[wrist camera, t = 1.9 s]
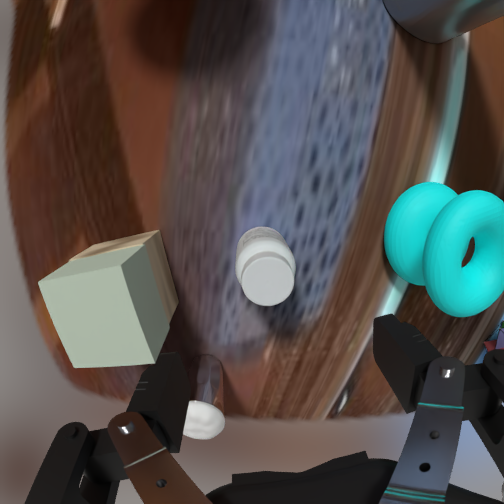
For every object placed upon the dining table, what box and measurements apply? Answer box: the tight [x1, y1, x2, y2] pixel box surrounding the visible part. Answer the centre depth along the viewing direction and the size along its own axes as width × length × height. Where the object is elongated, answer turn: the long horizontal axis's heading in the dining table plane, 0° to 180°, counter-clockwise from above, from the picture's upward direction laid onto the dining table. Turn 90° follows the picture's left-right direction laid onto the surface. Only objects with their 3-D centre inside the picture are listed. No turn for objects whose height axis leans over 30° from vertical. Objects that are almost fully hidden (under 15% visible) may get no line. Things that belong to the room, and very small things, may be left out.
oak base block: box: [69, 230, 179, 323], centre depth 25 cm, size 7×7×5 cm
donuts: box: [384, 182, 504, 317], centre depth 22 cm, size 10×10×10 cm
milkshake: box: [183, 355, 225, 439], centre depth 26 cm, size 4×5×10 cm
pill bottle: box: [235, 227, 296, 306], centre depth 24 cm, size 4×4×8 cm
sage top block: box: [38, 244, 170, 368], centre depth 21 cm, size 7×7×5 cm
